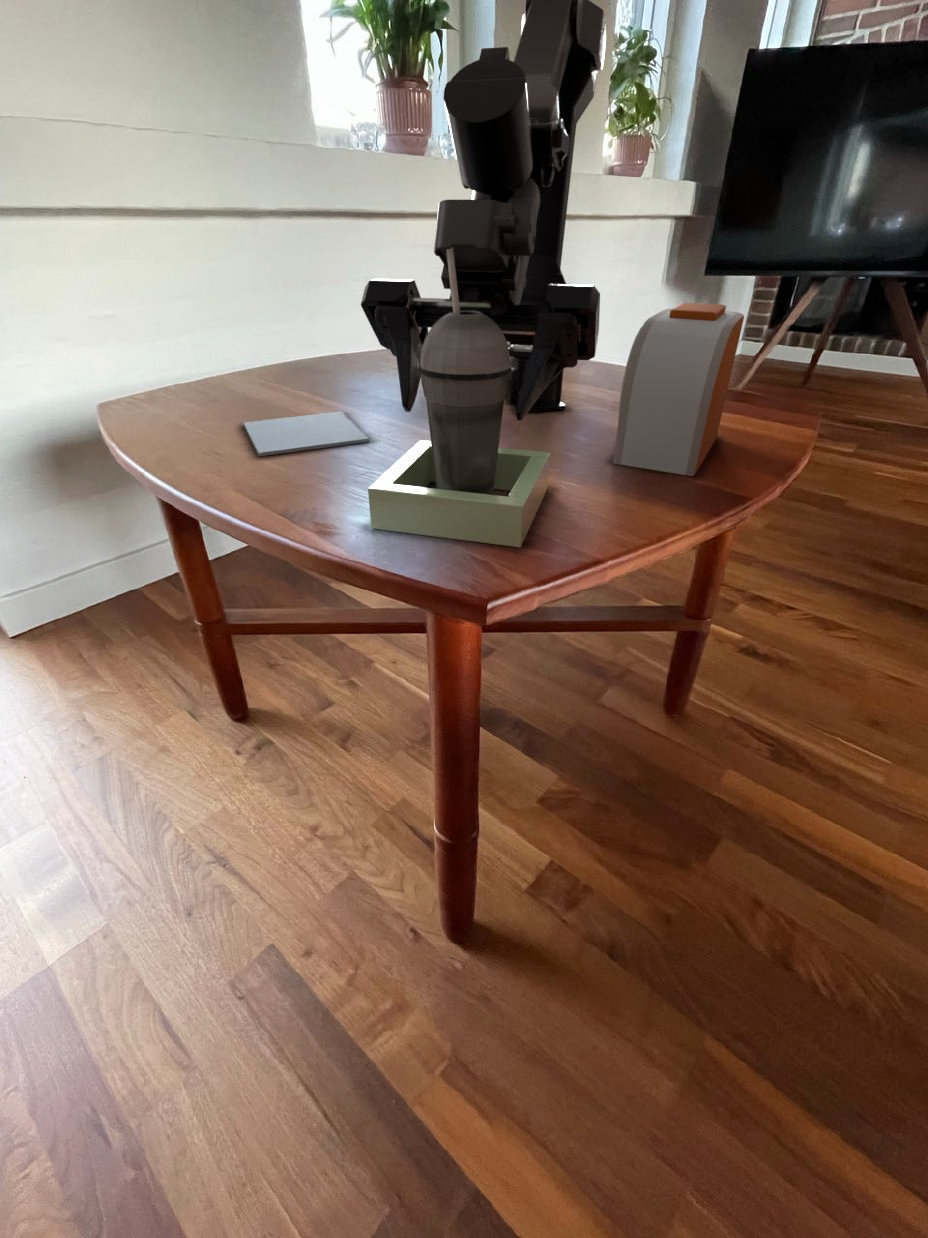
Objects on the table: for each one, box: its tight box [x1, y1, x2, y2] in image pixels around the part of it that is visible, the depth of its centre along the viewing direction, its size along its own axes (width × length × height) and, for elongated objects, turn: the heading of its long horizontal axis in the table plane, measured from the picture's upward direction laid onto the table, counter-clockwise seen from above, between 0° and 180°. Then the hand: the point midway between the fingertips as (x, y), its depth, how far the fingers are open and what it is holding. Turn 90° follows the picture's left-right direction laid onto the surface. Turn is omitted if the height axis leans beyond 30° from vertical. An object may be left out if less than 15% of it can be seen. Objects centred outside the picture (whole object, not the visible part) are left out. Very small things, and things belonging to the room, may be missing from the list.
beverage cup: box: [418, 247, 512, 495], centre depth 48 cm, size 7×7×20 cm
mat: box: [243, 410, 370, 457], centre depth 71 cm, size 12×12×1 cm
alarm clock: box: [612, 302, 745, 477], centre depth 63 cm, size 15×8×14 cm, turn 152°
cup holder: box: [367, 439, 551, 548], centre depth 53 cm, size 12×12×4 cm
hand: (461, 413), depth 48 cm, fingers open, 9 cm apart
